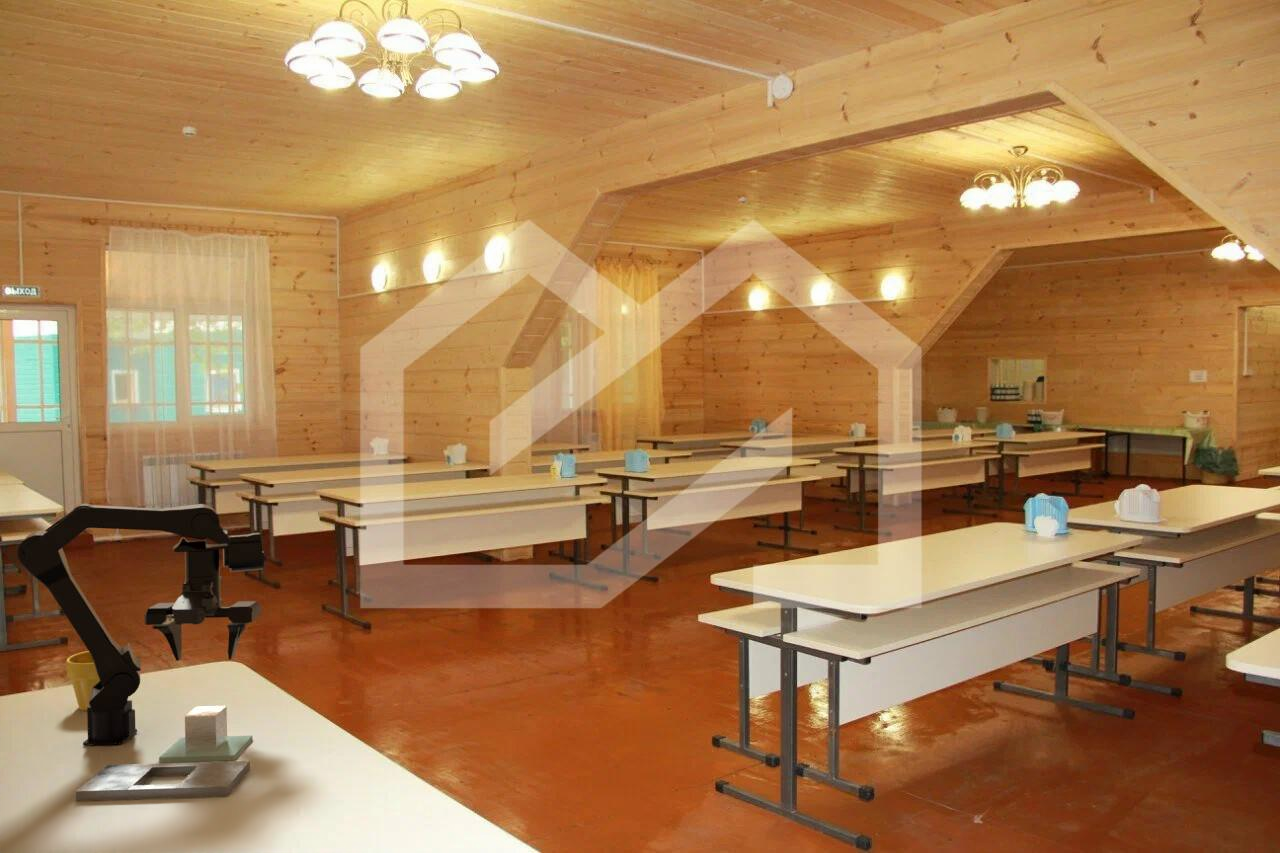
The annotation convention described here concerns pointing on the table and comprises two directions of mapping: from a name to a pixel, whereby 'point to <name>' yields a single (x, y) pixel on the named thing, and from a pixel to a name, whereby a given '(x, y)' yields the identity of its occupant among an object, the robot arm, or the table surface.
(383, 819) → the table surface
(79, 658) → the plant pot
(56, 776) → the table surface
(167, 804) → the table surface
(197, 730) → the pale wooden block
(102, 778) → the grey flat plate
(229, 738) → the teal pad
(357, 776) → the table surface
